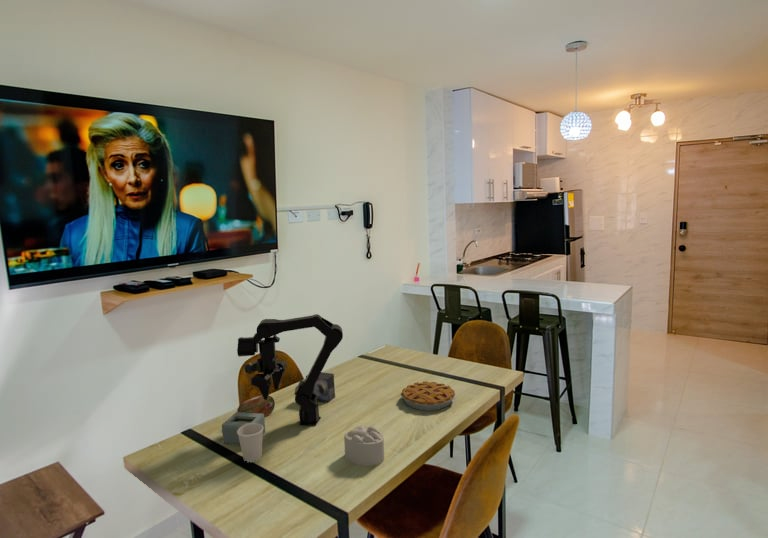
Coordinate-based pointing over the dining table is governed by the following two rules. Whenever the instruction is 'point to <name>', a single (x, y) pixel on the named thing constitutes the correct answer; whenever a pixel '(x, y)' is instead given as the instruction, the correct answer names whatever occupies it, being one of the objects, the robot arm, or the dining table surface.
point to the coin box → (232, 426)
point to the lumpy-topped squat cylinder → (364, 446)
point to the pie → (428, 396)
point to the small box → (324, 387)
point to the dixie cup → (251, 441)
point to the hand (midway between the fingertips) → (271, 394)
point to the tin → (257, 406)
